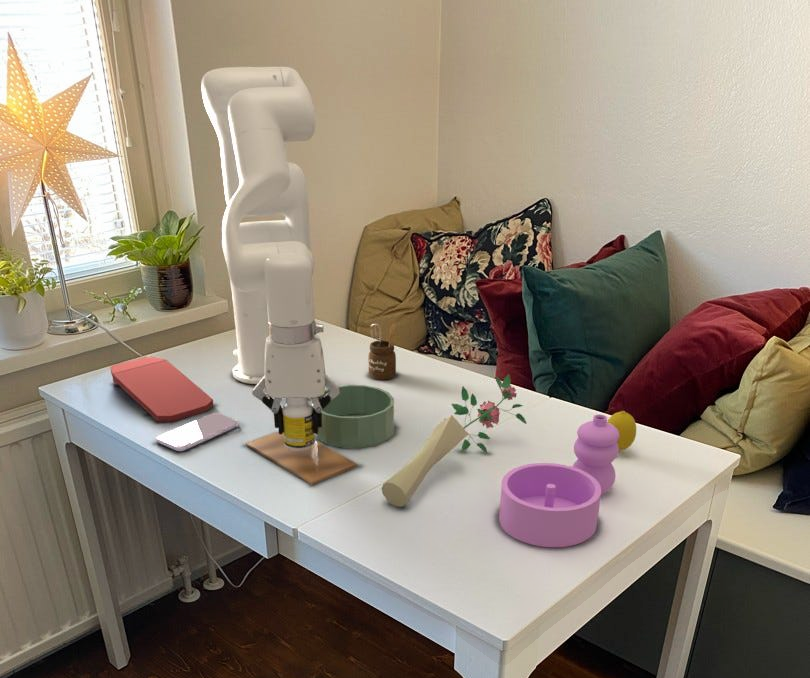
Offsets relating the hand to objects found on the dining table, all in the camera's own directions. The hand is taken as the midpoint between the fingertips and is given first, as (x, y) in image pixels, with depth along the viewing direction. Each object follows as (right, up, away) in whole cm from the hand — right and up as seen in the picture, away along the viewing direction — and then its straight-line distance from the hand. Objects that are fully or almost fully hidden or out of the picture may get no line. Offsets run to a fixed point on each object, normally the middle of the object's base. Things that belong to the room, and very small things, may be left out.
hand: (298, 429), depth 155 cm
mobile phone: (-20, 0, +10) cm, 23 cm away
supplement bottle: (0, -3, +2) cm, 3 cm away
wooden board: (0, -4, +3) cm, 5 cm away
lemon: (+57, -4, +5) cm, 58 cm away
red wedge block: (-32, +10, +25) cm, 41 cm away
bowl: (+9, +2, +12) cm, 15 cm away
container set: (+45, -15, -13) cm, 49 cm away
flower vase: (+27, -7, -1) cm, 28 cm away
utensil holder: (+14, +16, +35) cm, 41 cm away
